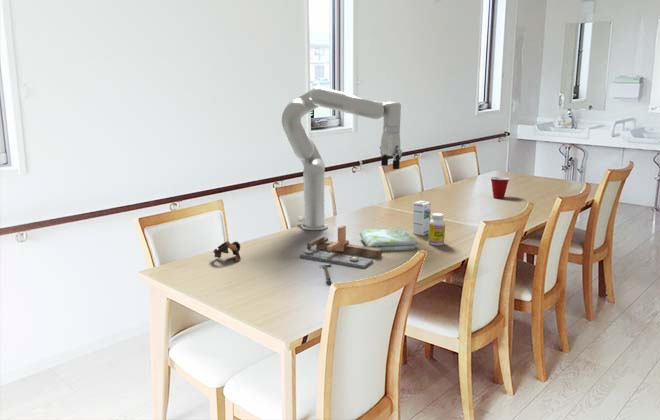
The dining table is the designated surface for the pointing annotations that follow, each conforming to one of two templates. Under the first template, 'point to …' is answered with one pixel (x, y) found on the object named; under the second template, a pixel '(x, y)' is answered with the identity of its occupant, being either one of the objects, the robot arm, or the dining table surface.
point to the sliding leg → (339, 240)
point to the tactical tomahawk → (327, 273)
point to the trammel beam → (346, 248)
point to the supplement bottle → (436, 229)
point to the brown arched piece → (224, 249)
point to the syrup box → (421, 217)
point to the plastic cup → (499, 186)
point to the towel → (388, 239)
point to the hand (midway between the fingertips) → (390, 167)
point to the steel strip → (336, 258)
